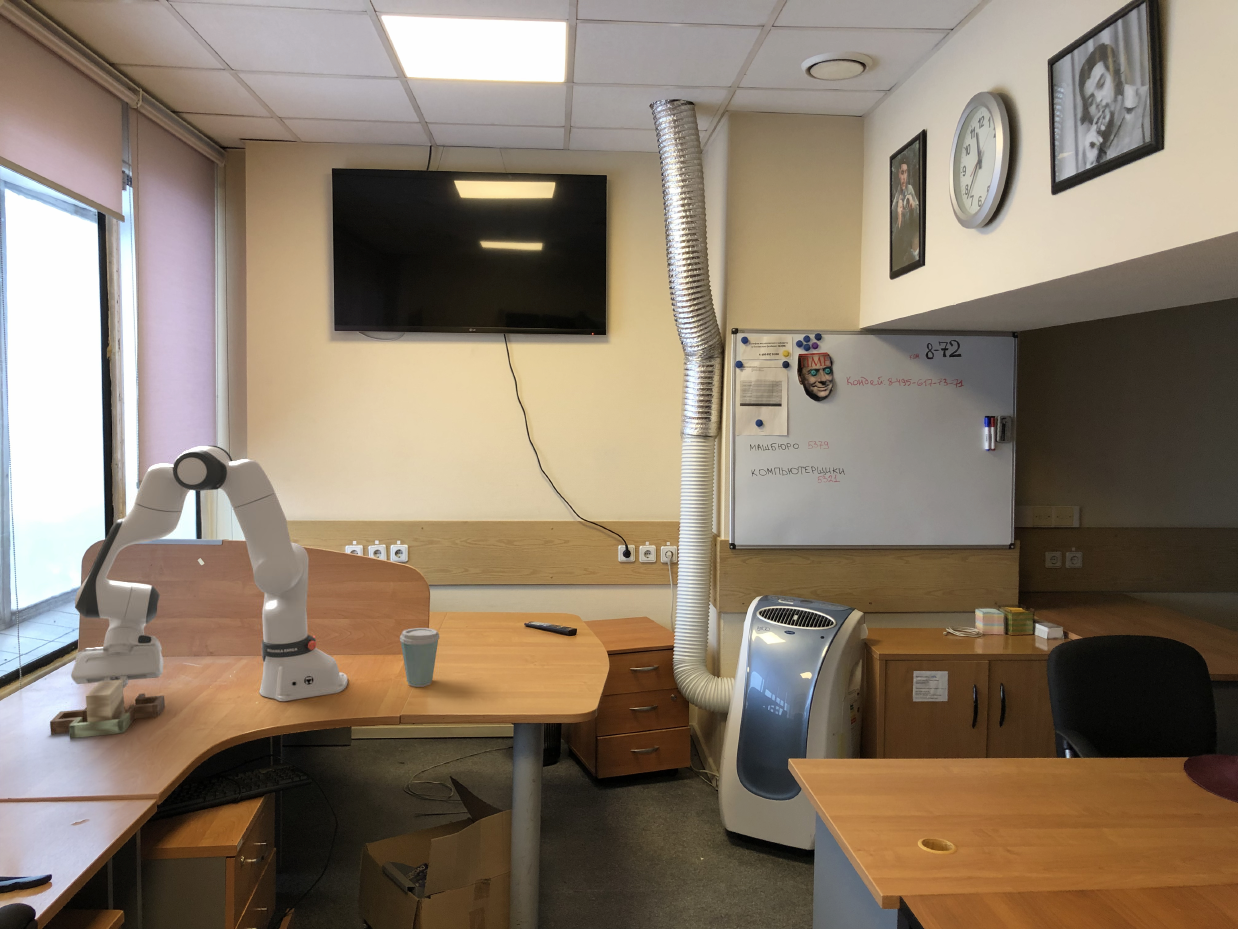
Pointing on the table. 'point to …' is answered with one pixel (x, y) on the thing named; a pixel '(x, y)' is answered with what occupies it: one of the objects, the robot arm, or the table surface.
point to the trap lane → (81, 727)
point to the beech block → (105, 701)
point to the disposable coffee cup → (419, 655)
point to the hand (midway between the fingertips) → (113, 695)
